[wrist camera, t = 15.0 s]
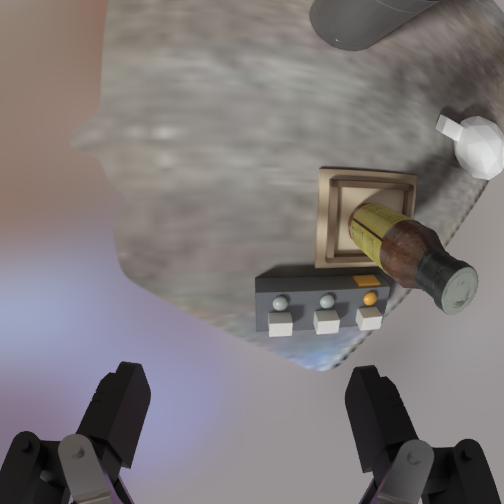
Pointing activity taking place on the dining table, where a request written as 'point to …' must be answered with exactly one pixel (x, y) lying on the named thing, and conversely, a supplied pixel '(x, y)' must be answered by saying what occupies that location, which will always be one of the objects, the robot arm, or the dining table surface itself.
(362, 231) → the sauce bottle
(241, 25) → the dining table surface
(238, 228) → the dining table surface
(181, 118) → the dining table surface
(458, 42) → the dining table surface
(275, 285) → the breaker bank
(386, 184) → the square beige tray
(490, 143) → the faceted ball with stub
